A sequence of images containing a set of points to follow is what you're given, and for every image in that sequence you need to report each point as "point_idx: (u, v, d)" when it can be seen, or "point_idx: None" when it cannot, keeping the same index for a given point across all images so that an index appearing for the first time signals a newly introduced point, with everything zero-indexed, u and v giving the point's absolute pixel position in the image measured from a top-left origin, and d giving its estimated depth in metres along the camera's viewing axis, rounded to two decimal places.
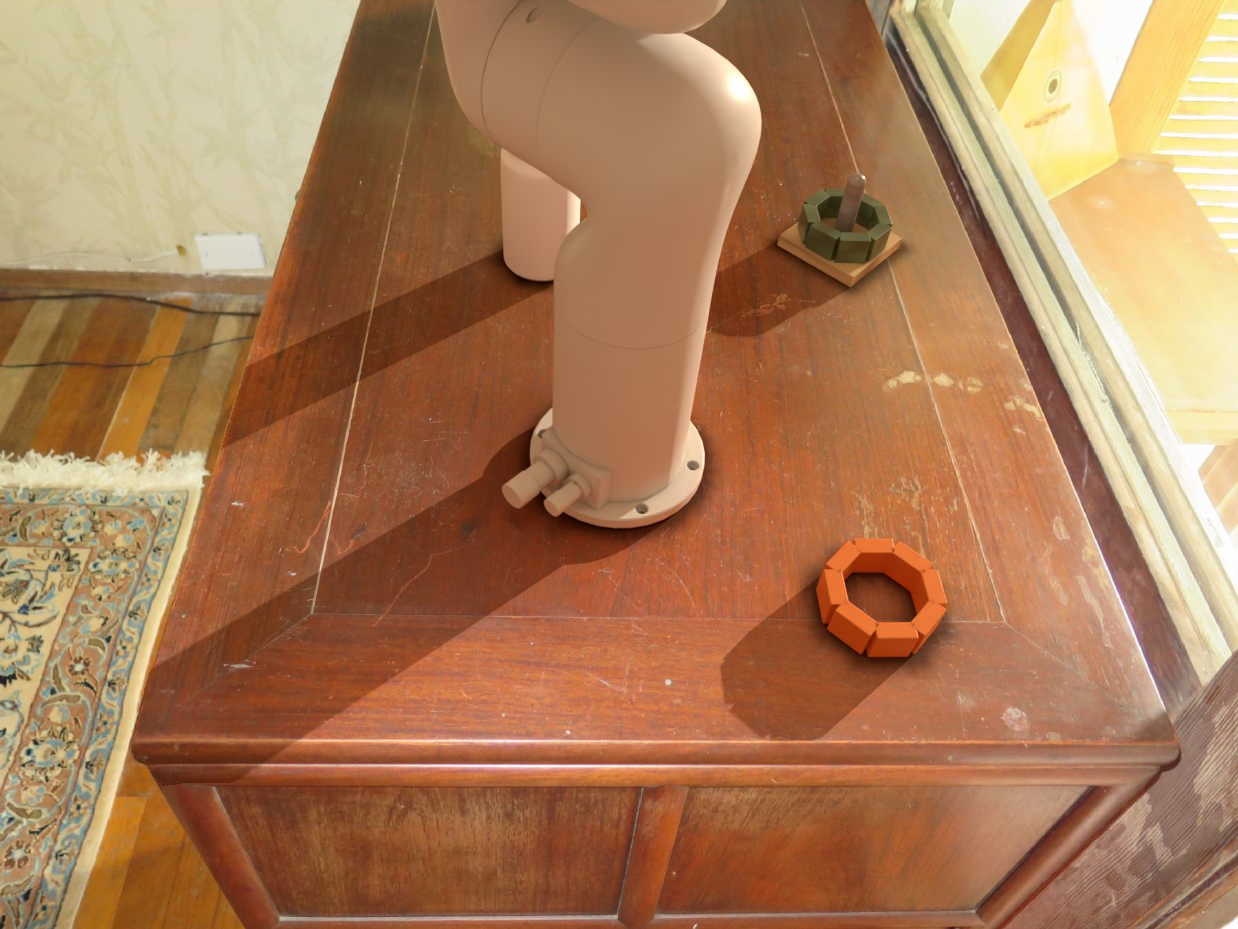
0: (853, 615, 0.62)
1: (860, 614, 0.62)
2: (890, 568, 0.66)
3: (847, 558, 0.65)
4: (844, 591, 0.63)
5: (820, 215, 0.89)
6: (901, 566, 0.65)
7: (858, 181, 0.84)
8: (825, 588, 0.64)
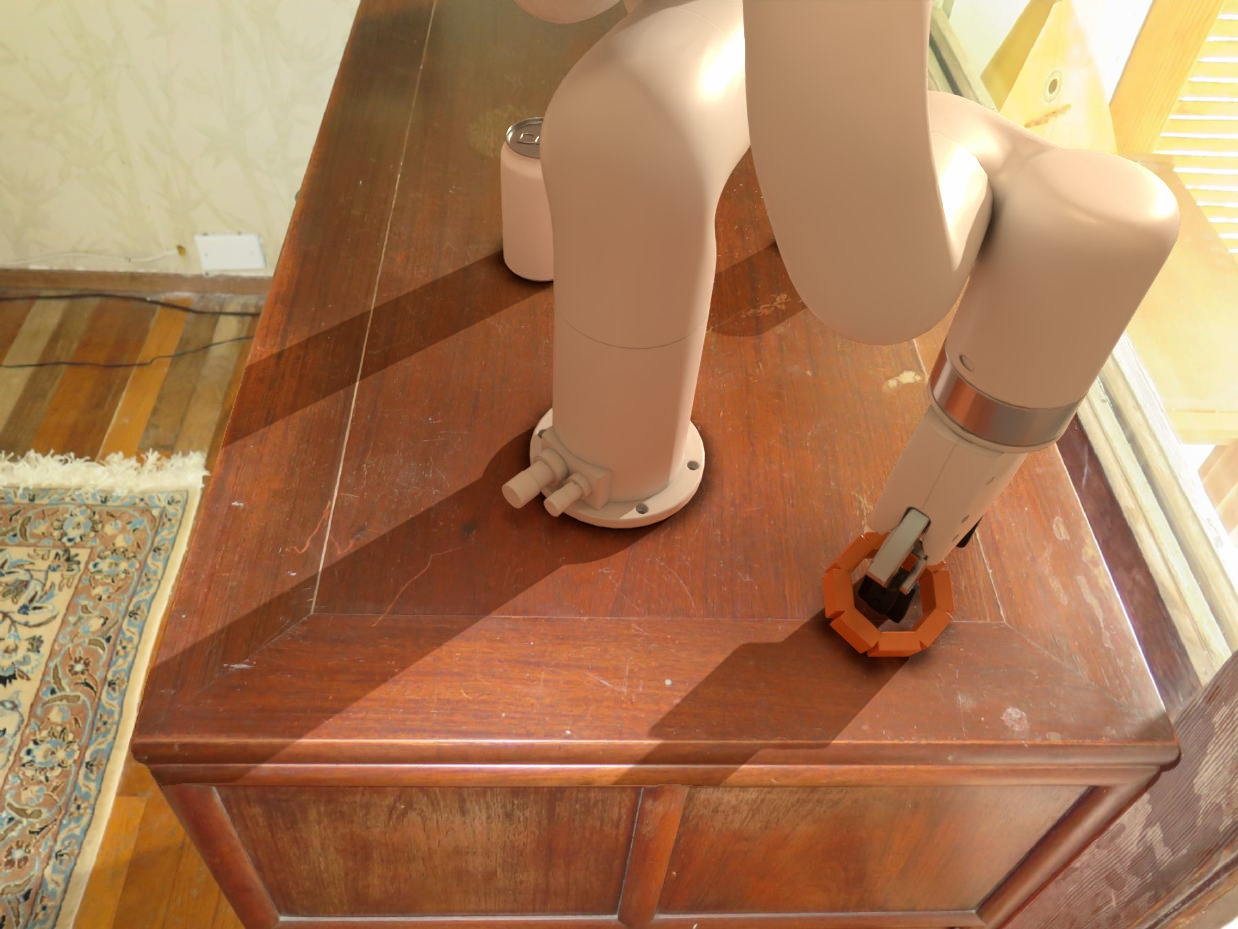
0: (857, 623, 0.61)
1: (864, 622, 0.61)
2: None
3: (858, 555, 0.62)
4: (851, 595, 0.62)
5: None
6: (913, 562, 0.63)
7: None
8: (831, 589, 0.62)
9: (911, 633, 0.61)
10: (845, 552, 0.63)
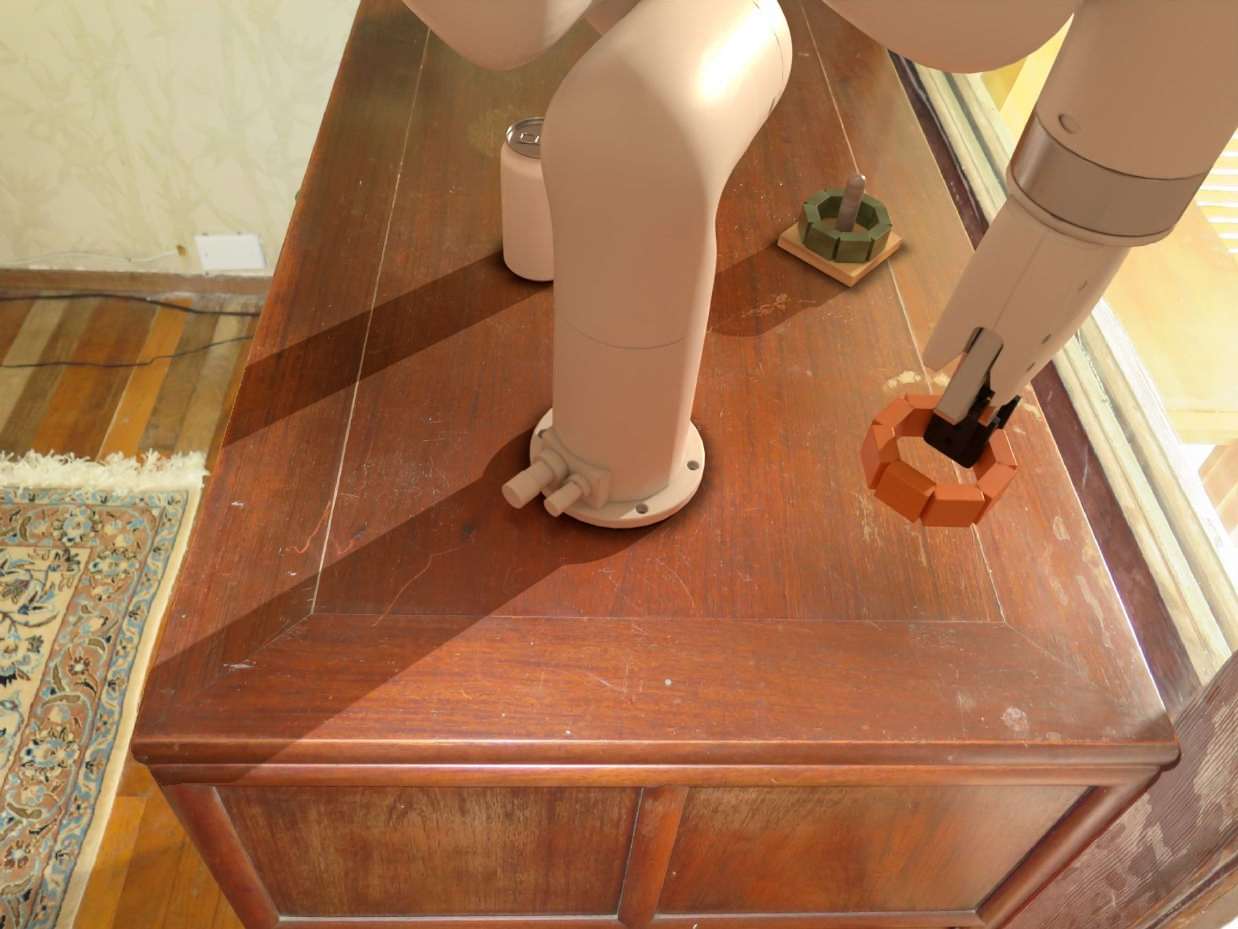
0: (907, 474, 0.52)
1: (915, 473, 0.52)
2: None
3: (899, 413, 0.55)
4: (896, 448, 0.53)
5: (820, 215, 0.89)
6: None
7: (858, 181, 0.84)
8: (873, 447, 0.54)
9: (971, 485, 0.52)
10: (883, 410, 0.55)
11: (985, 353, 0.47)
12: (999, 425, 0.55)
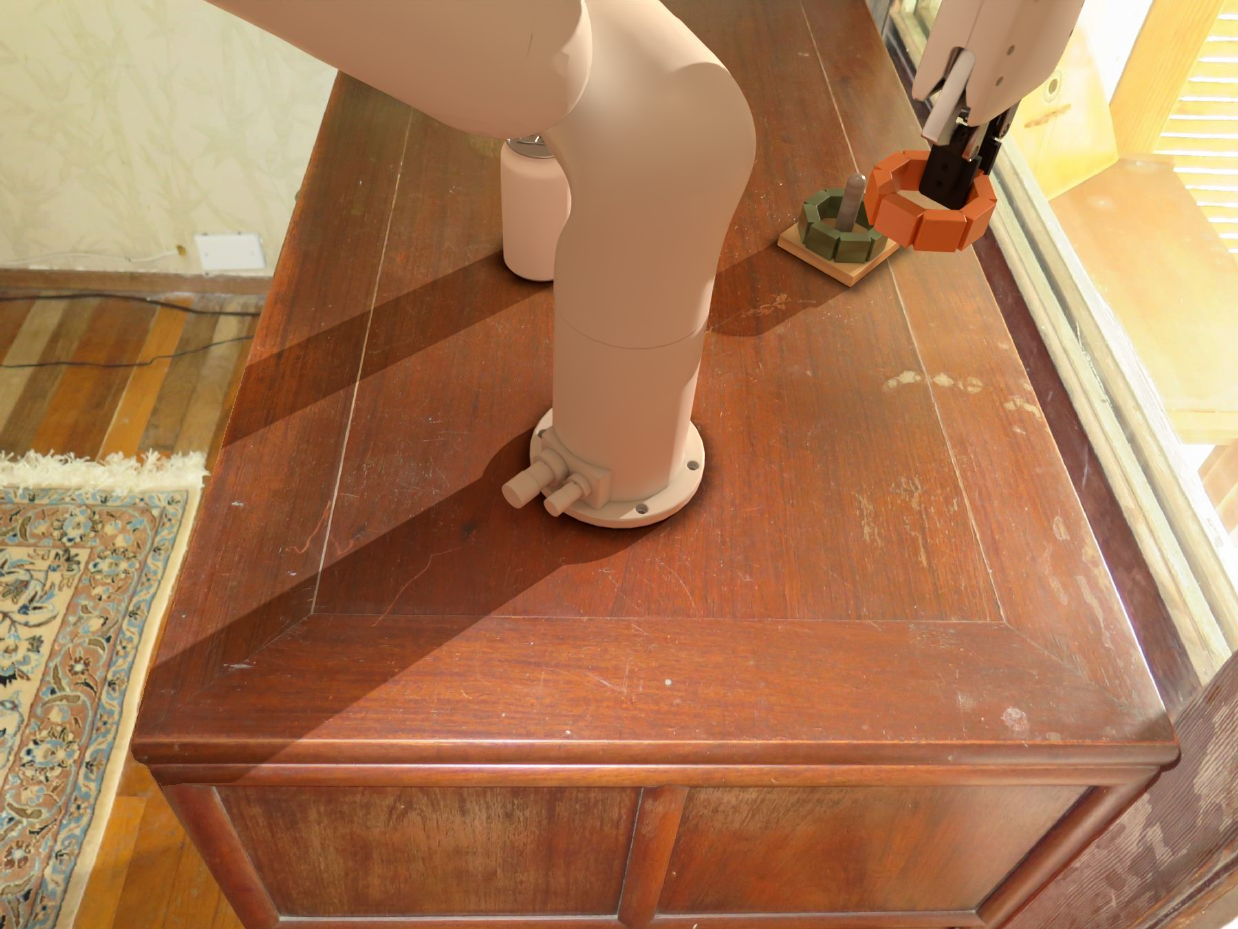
0: (901, 202, 0.61)
1: (907, 202, 0.61)
2: None
3: (896, 162, 0.64)
4: (892, 185, 0.62)
5: (820, 215, 0.89)
6: None
7: (858, 181, 0.84)
8: (872, 186, 0.63)
9: (955, 210, 0.61)
10: (883, 160, 0.64)
11: (962, 73, 0.56)
12: (984, 172, 0.64)
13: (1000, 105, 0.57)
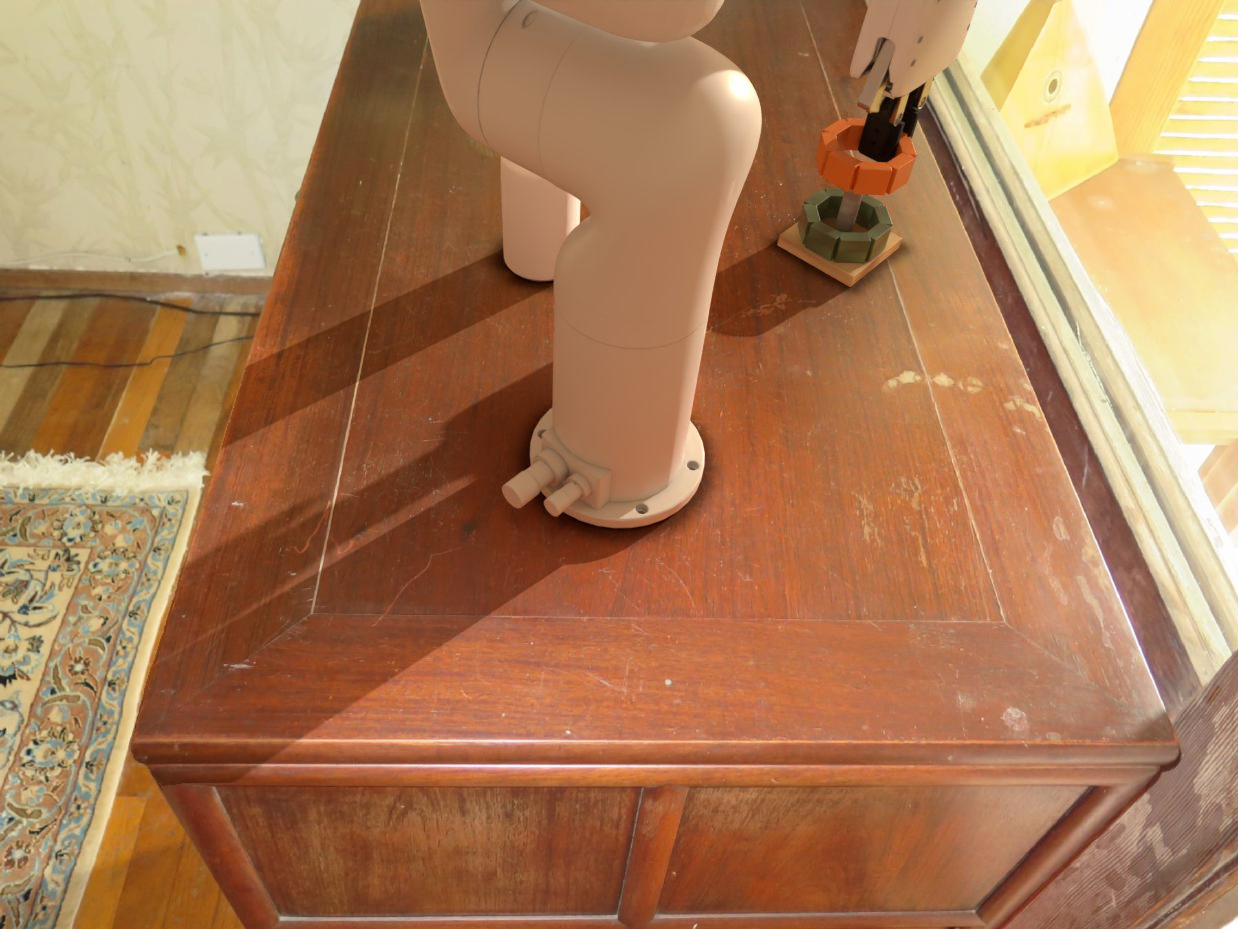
0: (842, 156, 0.80)
1: (848, 156, 0.80)
2: None
3: (840, 127, 0.83)
4: (836, 143, 0.81)
5: (820, 215, 0.89)
6: None
7: None
8: (822, 144, 0.82)
9: (884, 162, 0.80)
10: (830, 125, 0.83)
11: (886, 57, 0.75)
12: (907, 135, 0.83)
13: (915, 81, 0.76)
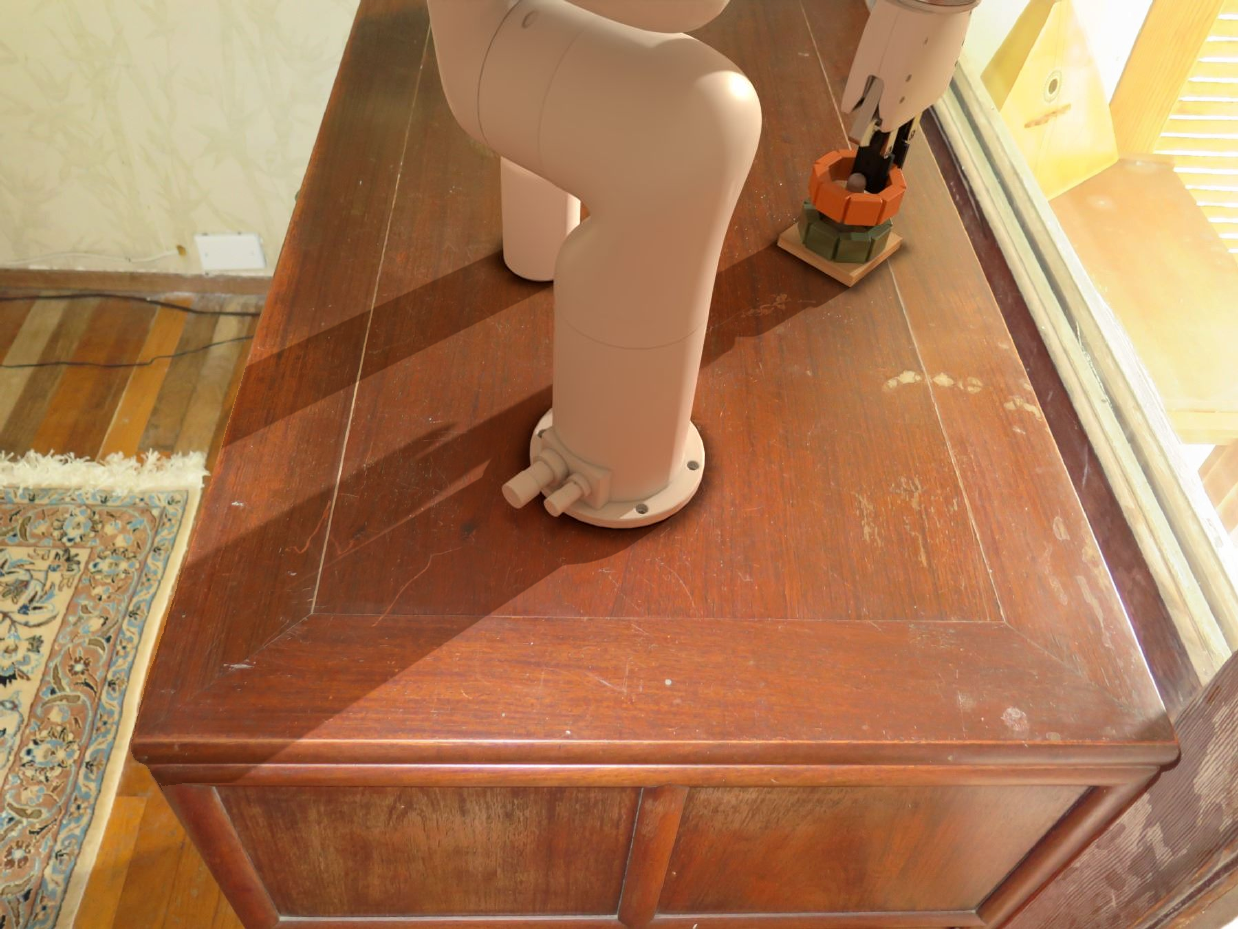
0: (834, 187, 0.83)
1: (839, 187, 0.83)
2: None
3: (832, 158, 0.85)
4: (828, 175, 0.84)
5: (820, 215, 0.89)
6: None
7: (858, 181, 0.84)
8: (814, 176, 0.84)
9: (874, 194, 0.82)
10: (822, 157, 0.86)
11: (875, 94, 0.77)
12: (897, 166, 0.86)
13: (904, 117, 0.79)
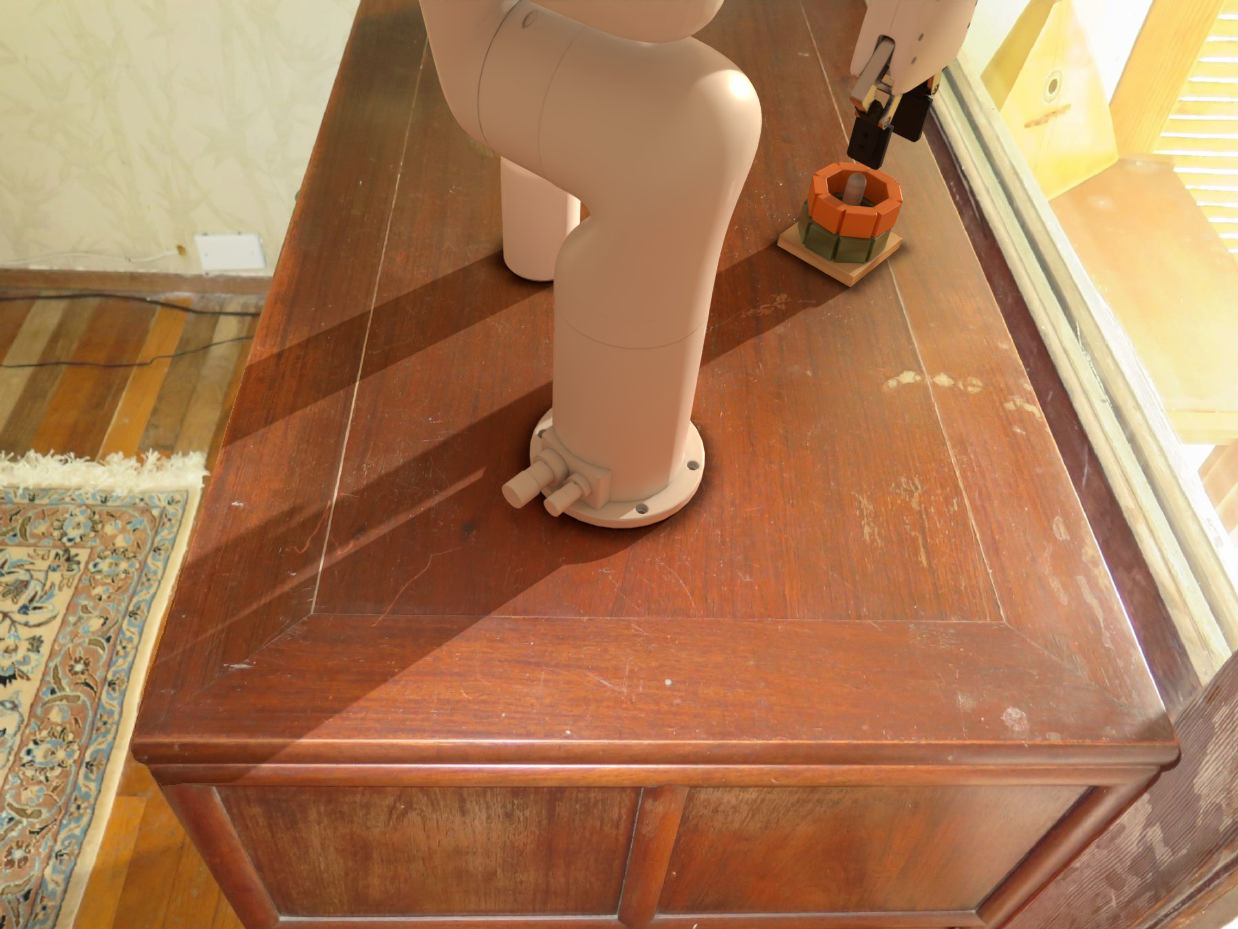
0: (830, 199, 0.84)
1: (835, 199, 0.84)
2: (865, 188, 0.88)
3: (832, 171, 0.87)
4: (826, 187, 0.85)
5: None
6: (872, 182, 0.87)
7: (858, 181, 0.84)
8: (812, 187, 0.86)
9: (870, 207, 0.84)
10: (822, 169, 0.87)
11: None
12: (920, 122, 0.84)
13: (916, 79, 0.76)
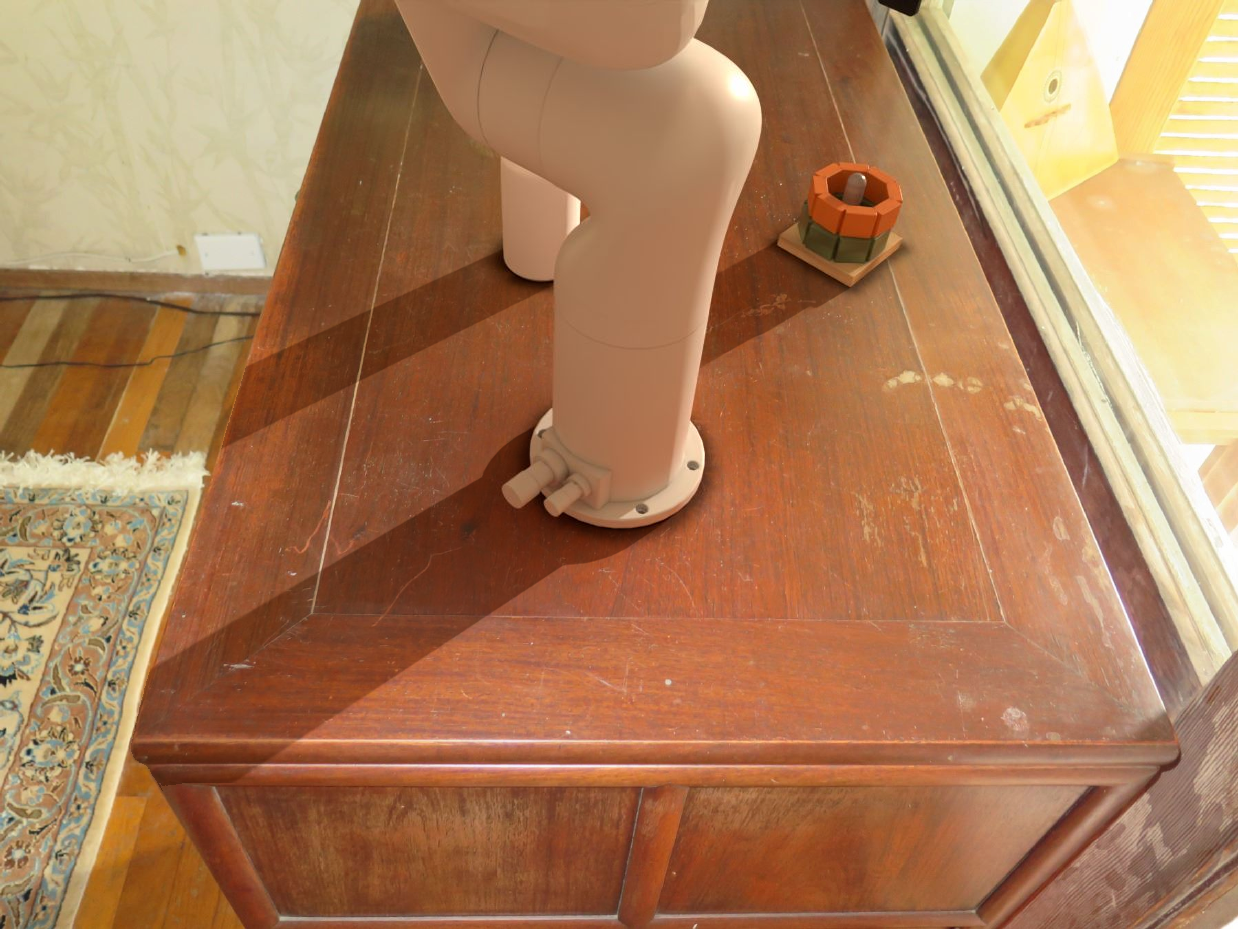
0: (830, 199, 0.84)
1: (835, 199, 0.84)
2: (865, 188, 0.88)
3: (832, 171, 0.87)
4: (826, 187, 0.85)
5: None
6: (872, 182, 0.87)
7: (858, 181, 0.84)
8: (812, 187, 0.86)
9: (870, 207, 0.84)
10: (822, 169, 0.87)
11: None
12: None
13: None
